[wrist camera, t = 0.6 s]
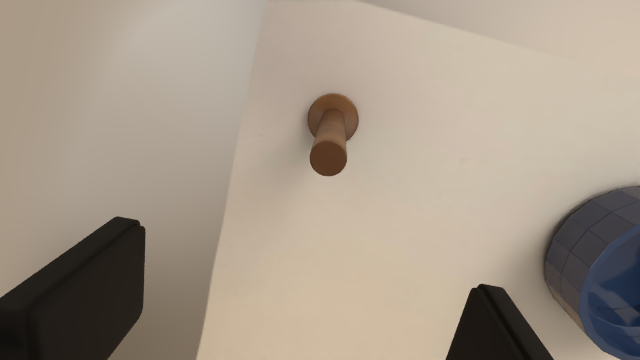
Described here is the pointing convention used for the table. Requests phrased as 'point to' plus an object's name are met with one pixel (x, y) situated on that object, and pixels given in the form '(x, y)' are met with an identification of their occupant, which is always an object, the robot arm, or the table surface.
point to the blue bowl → (601, 271)
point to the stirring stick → (331, 132)
